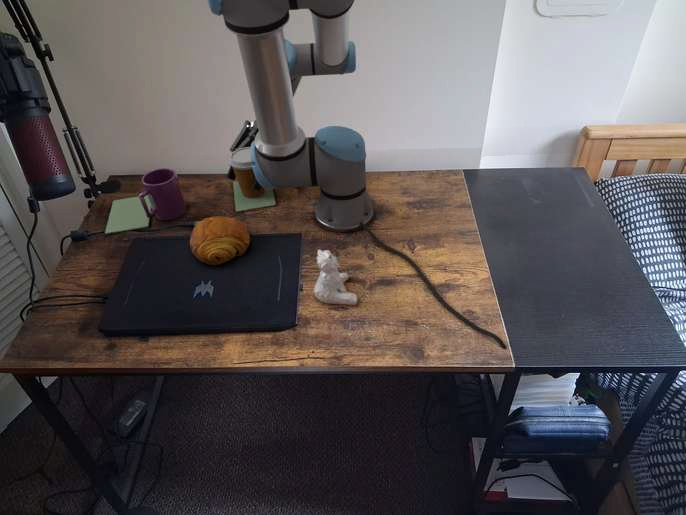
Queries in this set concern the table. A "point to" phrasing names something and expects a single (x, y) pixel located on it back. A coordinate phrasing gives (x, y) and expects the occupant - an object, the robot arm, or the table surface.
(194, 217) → the table surface
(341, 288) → the white creature statuette
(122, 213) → the mug mat
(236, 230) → the croissant
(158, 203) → the plum mug
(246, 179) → the disposable coffee cup
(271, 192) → the cup mat
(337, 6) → the robot arm
